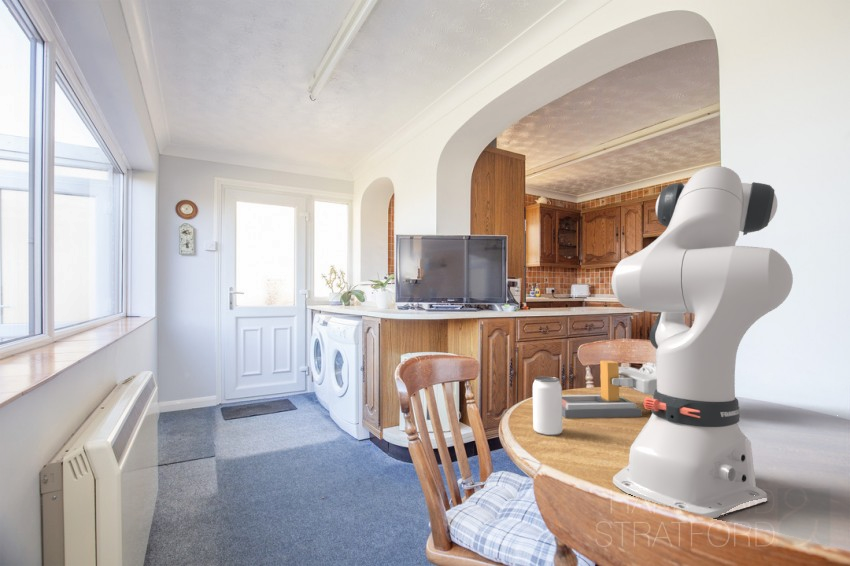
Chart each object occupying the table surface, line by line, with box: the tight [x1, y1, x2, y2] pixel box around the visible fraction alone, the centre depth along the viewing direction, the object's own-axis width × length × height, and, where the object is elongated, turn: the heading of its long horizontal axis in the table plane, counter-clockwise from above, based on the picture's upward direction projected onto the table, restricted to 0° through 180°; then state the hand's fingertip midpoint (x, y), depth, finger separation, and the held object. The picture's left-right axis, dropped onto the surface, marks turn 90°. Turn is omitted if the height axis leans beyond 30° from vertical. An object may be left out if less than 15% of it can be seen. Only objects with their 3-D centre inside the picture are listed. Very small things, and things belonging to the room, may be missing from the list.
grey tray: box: [562, 394, 643, 419], centre depth 107 cm, size 20×11×3 cm, turn 92°
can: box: [532, 375, 563, 437], centre depth 91 cm, size 6×6×12 cm
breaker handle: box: [596, 360, 625, 403], centre depth 107 cm, size 5×6×11 cm
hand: (606, 379), depth 107 cm, fingers closed on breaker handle, 4 cm apart
